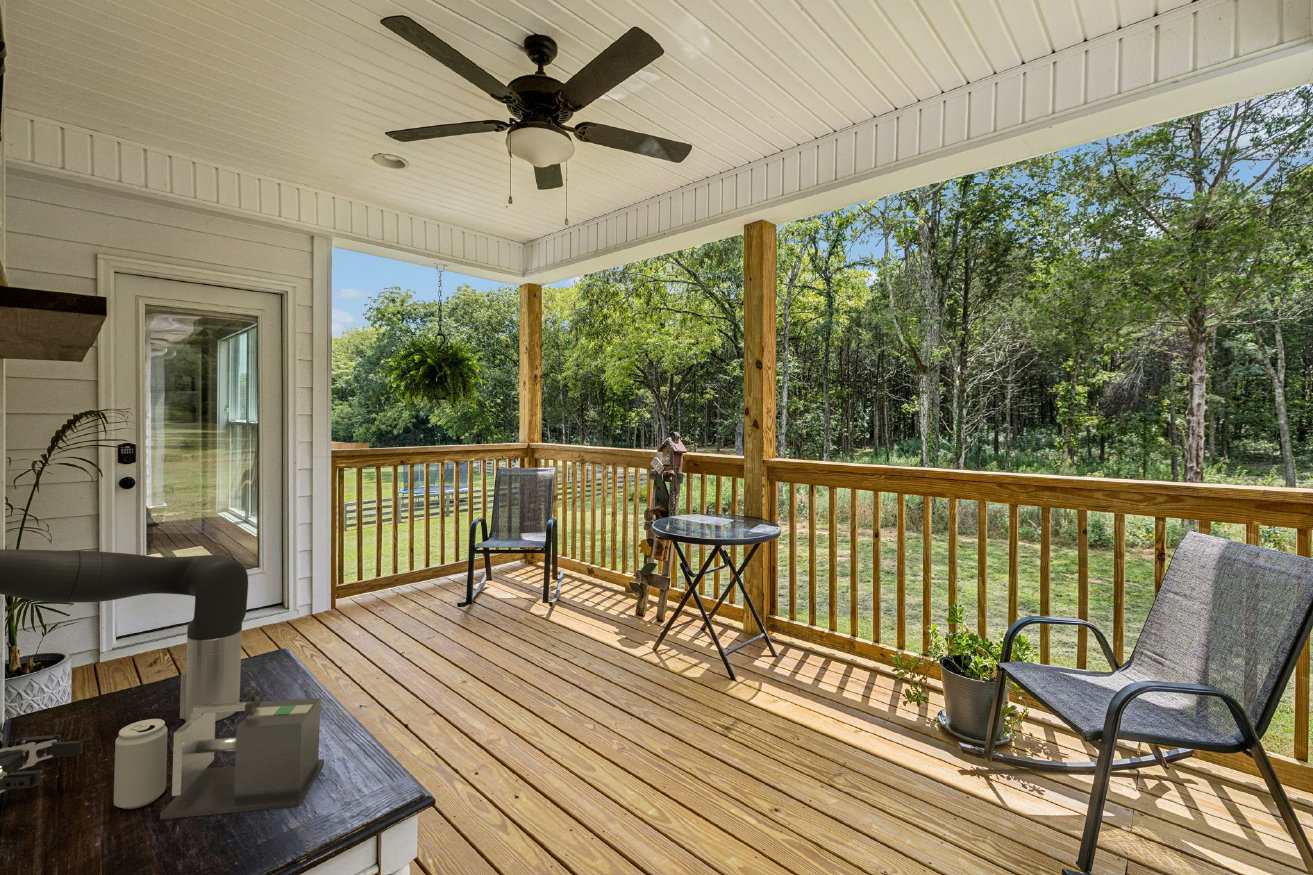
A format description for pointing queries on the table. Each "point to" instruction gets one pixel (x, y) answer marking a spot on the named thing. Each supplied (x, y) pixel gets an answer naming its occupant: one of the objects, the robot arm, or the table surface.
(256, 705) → the peak needle
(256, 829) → the table surface
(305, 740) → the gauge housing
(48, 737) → the robot arm
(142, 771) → the beverage can
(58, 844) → the table surface
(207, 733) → the paddle
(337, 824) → the table surface
